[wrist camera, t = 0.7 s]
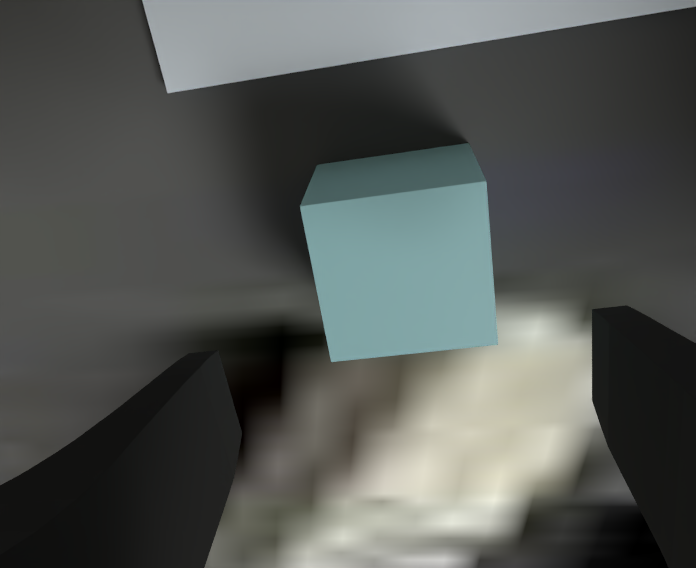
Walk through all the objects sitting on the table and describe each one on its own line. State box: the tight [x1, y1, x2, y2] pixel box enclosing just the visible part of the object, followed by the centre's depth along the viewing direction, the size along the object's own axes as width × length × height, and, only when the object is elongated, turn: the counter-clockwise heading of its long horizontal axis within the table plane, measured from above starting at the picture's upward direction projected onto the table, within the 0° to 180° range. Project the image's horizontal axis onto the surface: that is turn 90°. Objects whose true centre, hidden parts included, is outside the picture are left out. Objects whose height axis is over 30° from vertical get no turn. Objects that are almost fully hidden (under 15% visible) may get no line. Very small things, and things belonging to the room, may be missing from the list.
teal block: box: [300, 143, 498, 362], centre depth 18 cm, size 4×4×4 cm
